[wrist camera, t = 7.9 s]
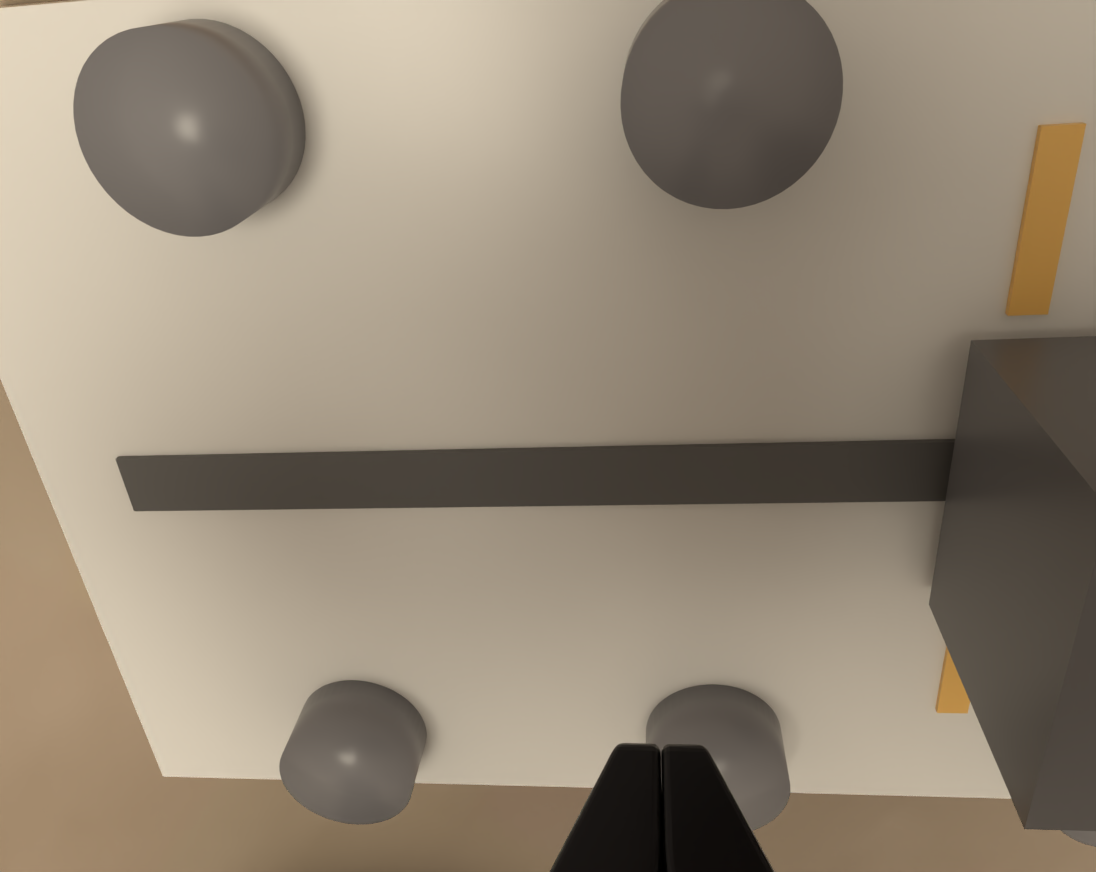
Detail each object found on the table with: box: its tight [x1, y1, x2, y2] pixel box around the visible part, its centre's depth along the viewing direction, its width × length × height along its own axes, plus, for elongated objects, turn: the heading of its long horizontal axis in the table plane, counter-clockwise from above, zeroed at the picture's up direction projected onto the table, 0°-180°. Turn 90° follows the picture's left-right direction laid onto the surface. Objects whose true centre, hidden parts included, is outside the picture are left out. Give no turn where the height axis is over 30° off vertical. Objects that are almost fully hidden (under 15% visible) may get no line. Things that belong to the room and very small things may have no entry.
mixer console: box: [0, 0, 1096, 847], centre depth 14 cm, size 14×22×4 cm, turn 94°
